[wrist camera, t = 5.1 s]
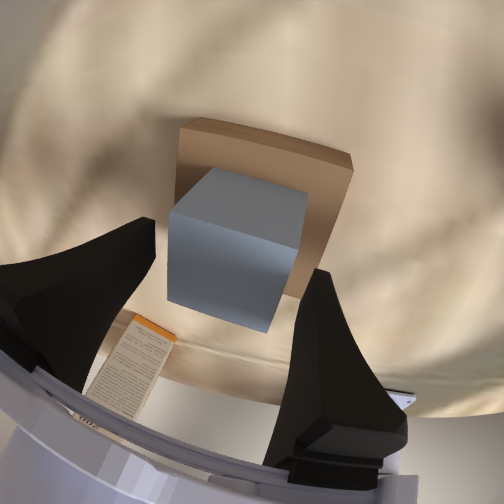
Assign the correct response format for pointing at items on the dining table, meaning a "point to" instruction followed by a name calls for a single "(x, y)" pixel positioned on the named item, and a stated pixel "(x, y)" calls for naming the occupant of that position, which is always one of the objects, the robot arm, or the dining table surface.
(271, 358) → the dining table surface
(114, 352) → the supplement box
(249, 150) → the base
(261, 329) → the cube
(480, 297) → the dining table surface
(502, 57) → the dining table surface
